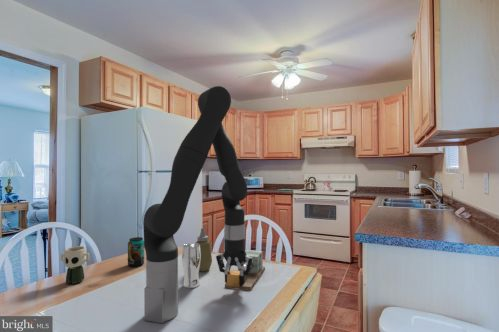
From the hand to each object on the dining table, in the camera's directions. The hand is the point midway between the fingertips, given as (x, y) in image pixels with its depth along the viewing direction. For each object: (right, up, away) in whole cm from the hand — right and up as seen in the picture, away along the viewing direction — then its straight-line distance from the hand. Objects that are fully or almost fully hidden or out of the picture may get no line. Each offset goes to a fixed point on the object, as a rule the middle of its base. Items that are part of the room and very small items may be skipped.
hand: (235, 284), depth 101 cm
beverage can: (-47, -3, +29) cm, 55 cm away
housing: (+4, -3, +13) cm, 14 cm away
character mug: (-63, -3, +10) cm, 64 cm away
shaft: (+3, 0, +9) cm, 9 cm away
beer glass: (-17, -3, +7) cm, 18 cm away
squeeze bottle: (-15, -3, +23) cm, 28 cm away
